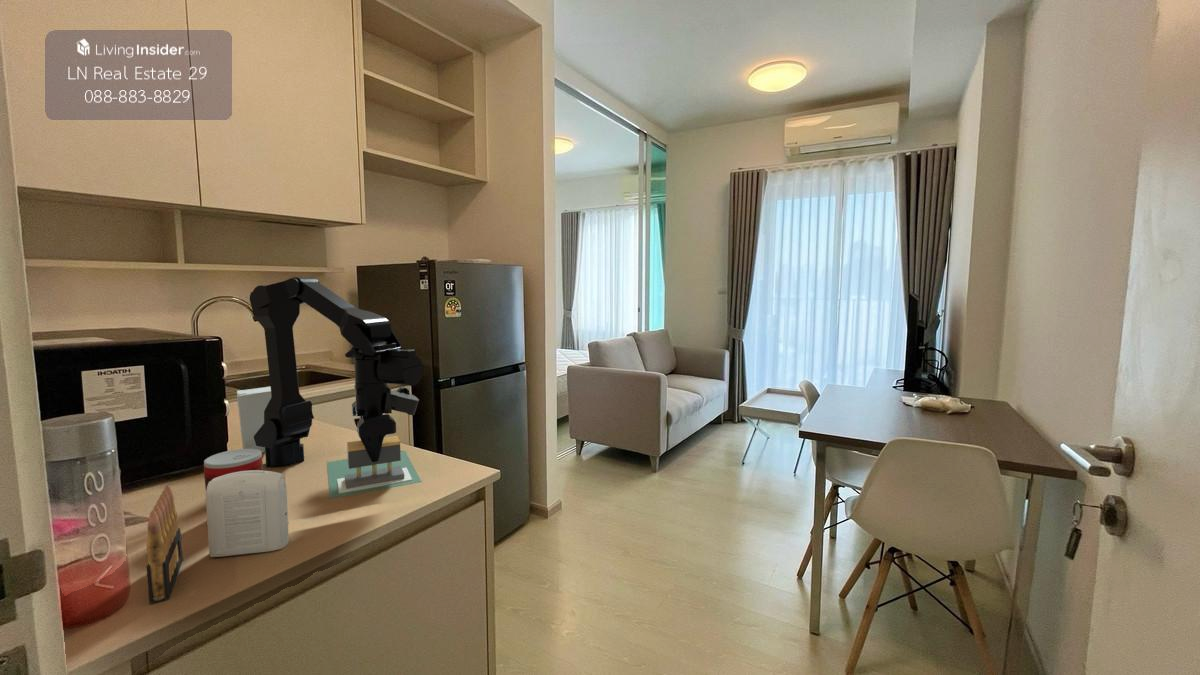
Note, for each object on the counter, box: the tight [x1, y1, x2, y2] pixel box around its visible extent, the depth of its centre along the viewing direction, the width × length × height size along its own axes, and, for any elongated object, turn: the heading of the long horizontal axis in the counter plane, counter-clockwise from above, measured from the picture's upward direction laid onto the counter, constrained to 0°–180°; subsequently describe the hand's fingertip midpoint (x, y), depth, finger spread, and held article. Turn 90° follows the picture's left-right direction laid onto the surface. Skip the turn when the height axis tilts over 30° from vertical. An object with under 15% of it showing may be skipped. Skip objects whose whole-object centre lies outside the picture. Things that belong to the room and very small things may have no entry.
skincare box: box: [236, 386, 271, 454], centre depth 115 cm, size 8×6×15 cm
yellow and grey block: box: [346, 435, 401, 469], centre depth 96 cm, size 9×4×4 cm, turn 121°
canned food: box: [203, 448, 264, 491], centre depth 83 cm, size 8×8×11 cm
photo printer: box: [205, 470, 290, 558], centre depth 74 cm, size 10×4×12 cm, turn 107°
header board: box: [326, 449, 422, 499], centre depth 101 cm, size 16×20×6 cm
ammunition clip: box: [146, 484, 184, 605], centre depth 66 cm, size 11×2×12 cm, turn 33°
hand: (373, 457), depth 96 cm, fingers closed on yellow and grey block, 4 cm apart
